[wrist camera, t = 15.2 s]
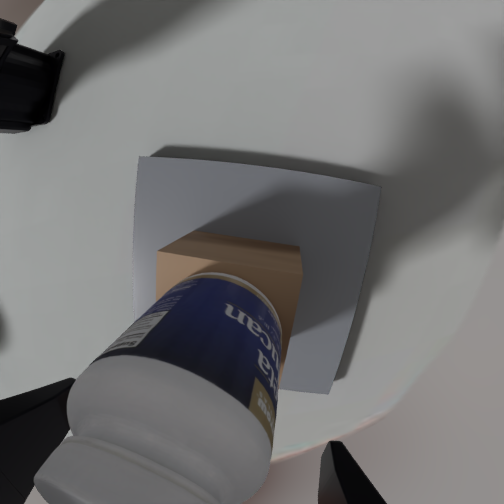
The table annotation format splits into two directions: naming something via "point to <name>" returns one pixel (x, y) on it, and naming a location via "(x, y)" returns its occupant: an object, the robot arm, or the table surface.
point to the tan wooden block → (237, 270)
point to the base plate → (266, 229)
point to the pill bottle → (175, 404)
